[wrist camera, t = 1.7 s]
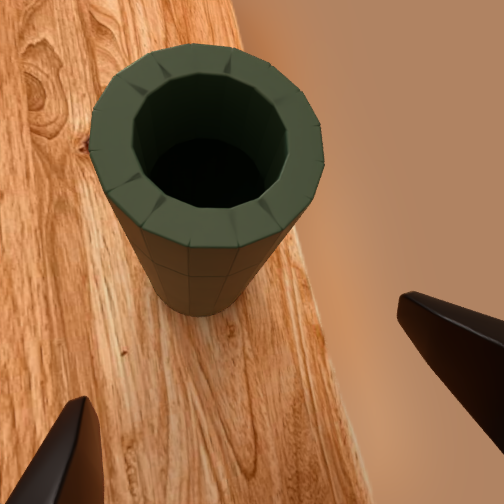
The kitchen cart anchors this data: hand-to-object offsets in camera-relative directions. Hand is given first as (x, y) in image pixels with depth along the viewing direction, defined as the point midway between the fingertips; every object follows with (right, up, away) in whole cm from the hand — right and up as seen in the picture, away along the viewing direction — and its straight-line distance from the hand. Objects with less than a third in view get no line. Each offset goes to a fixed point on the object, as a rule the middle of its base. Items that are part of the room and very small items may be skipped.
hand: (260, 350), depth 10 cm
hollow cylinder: (-3, +2, +12) cm, 13 cm away
